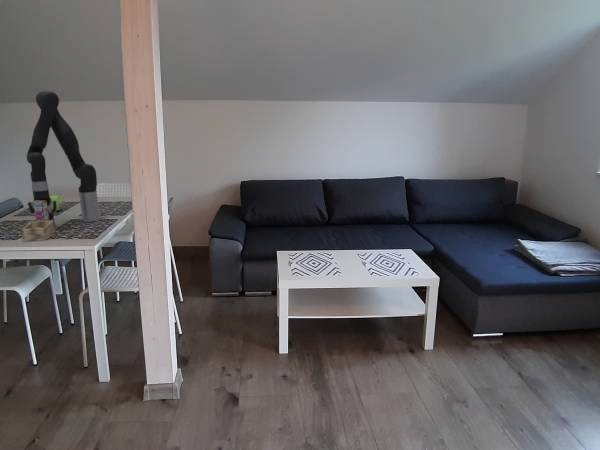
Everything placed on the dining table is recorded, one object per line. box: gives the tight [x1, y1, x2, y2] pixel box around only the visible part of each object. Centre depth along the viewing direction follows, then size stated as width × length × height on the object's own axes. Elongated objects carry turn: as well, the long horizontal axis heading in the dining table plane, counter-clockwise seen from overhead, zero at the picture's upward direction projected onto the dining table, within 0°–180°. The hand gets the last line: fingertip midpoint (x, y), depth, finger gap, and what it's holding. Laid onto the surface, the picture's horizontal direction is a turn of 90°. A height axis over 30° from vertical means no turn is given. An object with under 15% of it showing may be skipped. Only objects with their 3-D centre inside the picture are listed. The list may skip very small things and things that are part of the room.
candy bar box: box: [32, 198, 56, 227], centre depth 242 cm, size 11×5×16 cm, turn 5°
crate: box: [20, 220, 56, 243], centre depth 228 cm, size 11×17×6 cm, turn 17°
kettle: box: [32, 194, 67, 213], centre depth 283 cm, size 15×14×11 cm
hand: (45, 219), depth 243 cm, fingers closed on candy bar box, 5 cm apart
